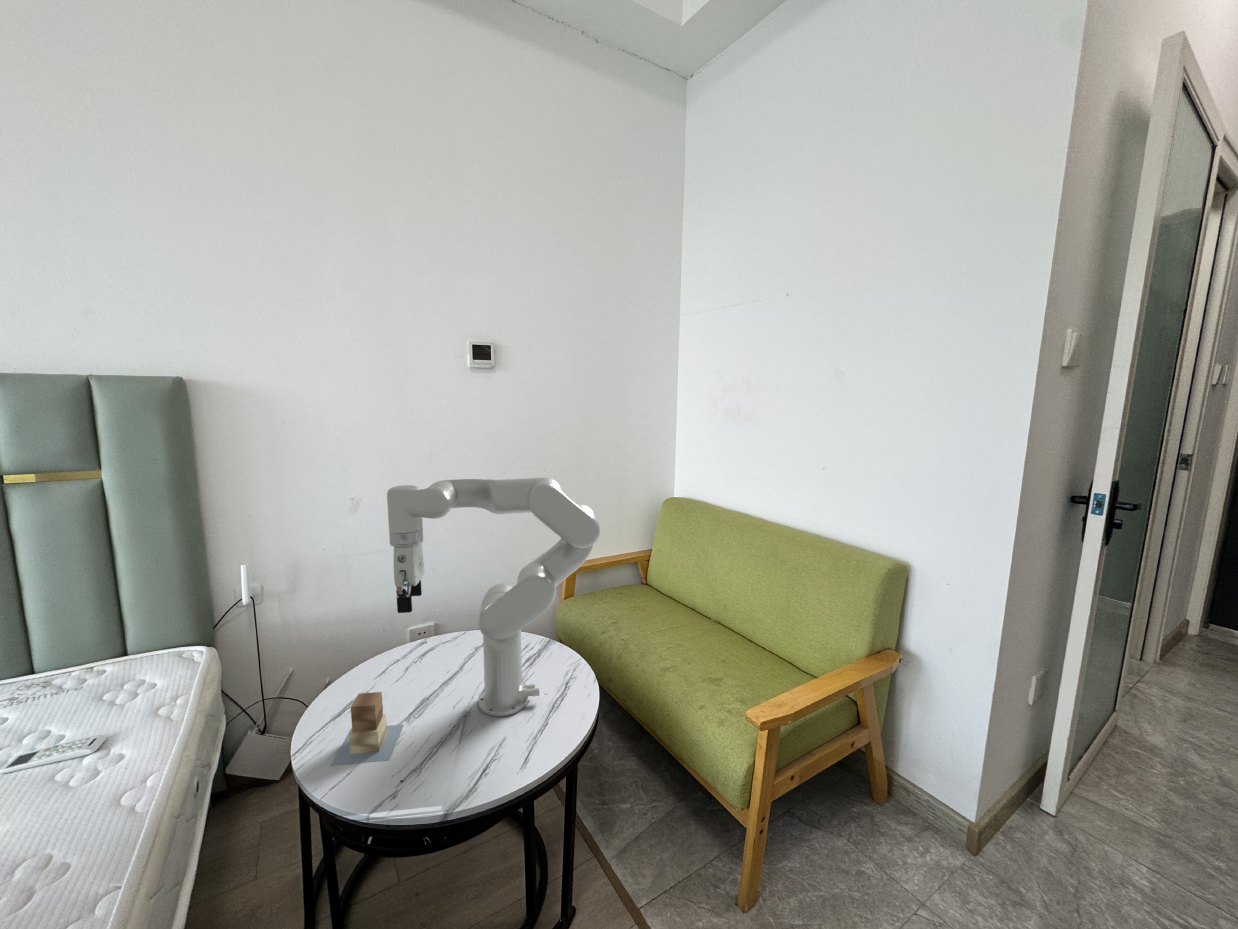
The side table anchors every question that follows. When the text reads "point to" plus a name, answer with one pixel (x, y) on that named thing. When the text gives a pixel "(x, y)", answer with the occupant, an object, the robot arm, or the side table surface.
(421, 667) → the side table surface
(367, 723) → the walnut block
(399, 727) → the build plate
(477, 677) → the side table surface
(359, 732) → the beech block
